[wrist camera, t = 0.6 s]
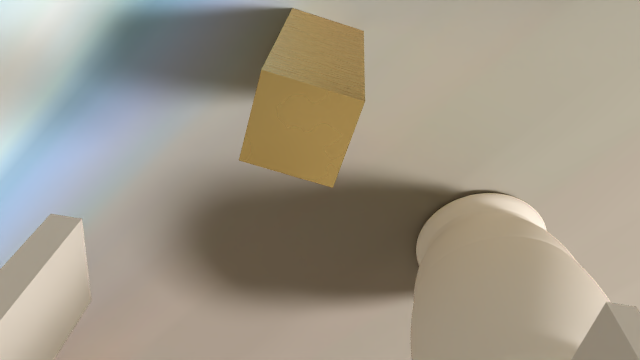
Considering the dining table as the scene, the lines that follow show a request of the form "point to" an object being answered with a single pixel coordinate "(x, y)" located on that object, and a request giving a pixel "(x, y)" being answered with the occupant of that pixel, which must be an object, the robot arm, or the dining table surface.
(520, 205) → the jar
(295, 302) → the dining table surface
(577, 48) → the dining table surface
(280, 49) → the gold rectangular block
